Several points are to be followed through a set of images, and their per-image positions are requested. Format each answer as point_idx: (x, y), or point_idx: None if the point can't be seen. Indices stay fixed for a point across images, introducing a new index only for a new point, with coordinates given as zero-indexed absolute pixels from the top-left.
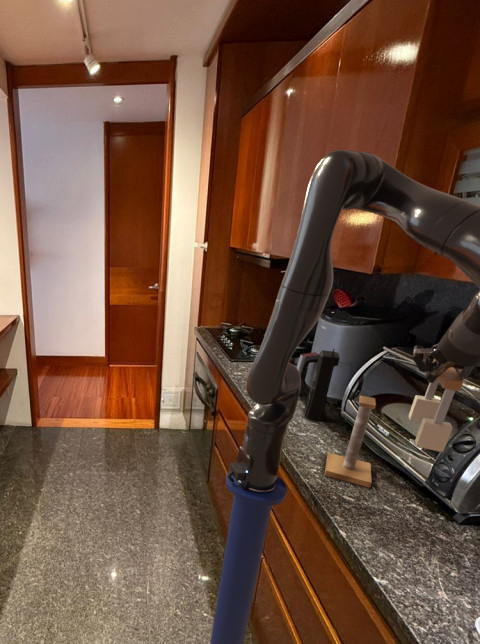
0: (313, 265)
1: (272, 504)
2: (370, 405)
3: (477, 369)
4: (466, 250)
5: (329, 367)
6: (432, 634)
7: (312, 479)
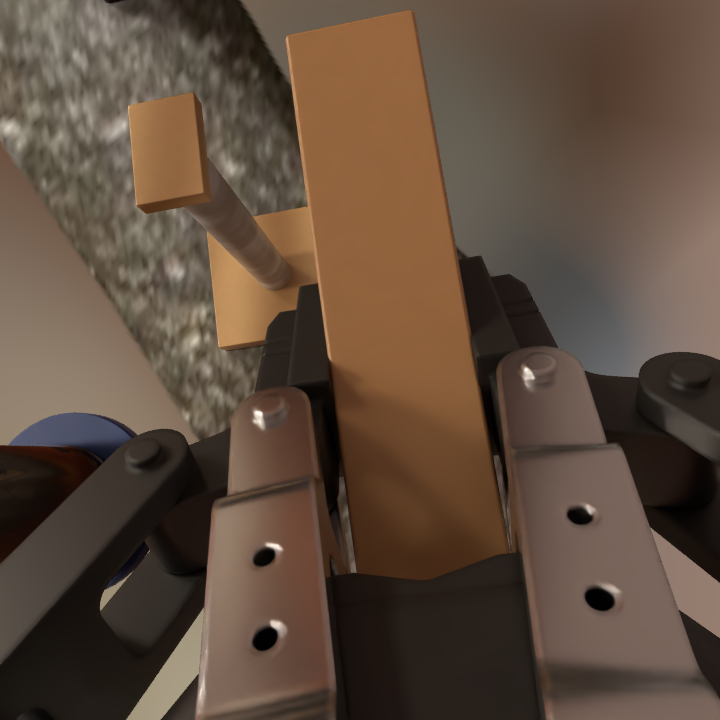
0: None
1: (139, 562)
2: (183, 198)
3: (691, 461)
4: None
5: None
6: None
7: (199, 400)
